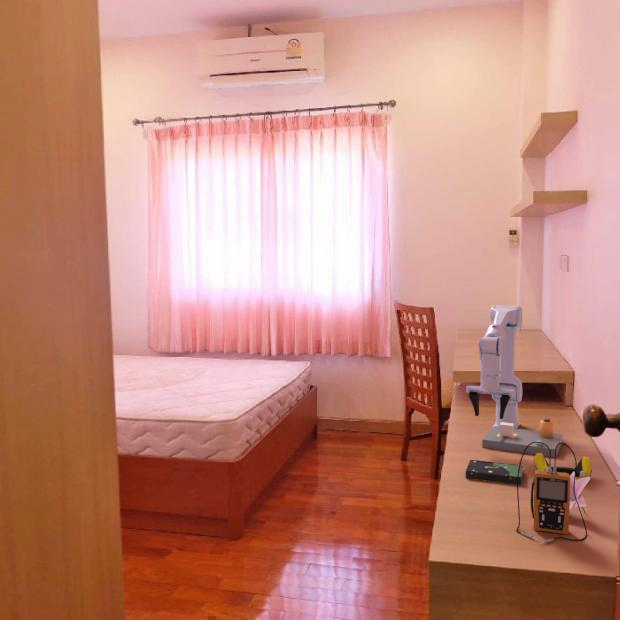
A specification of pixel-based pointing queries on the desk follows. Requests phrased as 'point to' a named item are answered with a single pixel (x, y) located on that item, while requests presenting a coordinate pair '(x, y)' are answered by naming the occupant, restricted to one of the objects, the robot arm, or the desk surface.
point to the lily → (577, 491)
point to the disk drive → (494, 472)
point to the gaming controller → (581, 471)
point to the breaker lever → (506, 429)
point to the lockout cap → (546, 428)
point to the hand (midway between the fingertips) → (489, 416)
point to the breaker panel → (523, 442)
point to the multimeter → (550, 500)
